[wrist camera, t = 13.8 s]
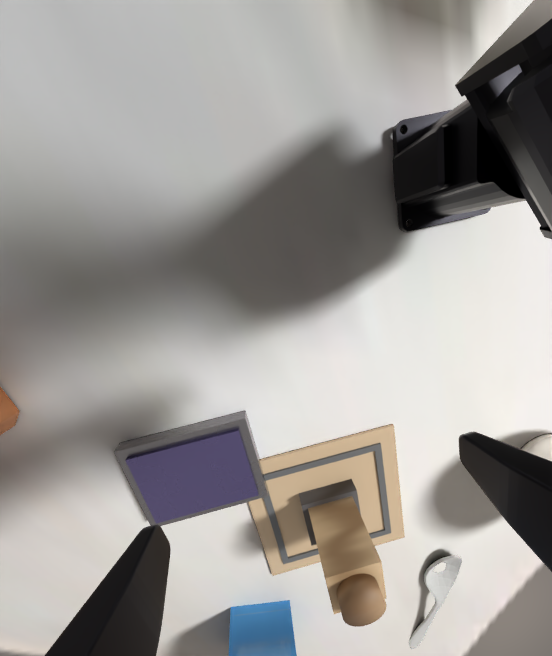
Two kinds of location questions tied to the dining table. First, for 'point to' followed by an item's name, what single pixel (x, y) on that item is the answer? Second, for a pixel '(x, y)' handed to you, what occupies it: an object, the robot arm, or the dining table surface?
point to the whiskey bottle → (7, 412)
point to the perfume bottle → (262, 630)
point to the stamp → (345, 552)
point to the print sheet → (321, 470)
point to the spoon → (437, 592)
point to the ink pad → (194, 469)
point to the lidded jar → (540, 446)
